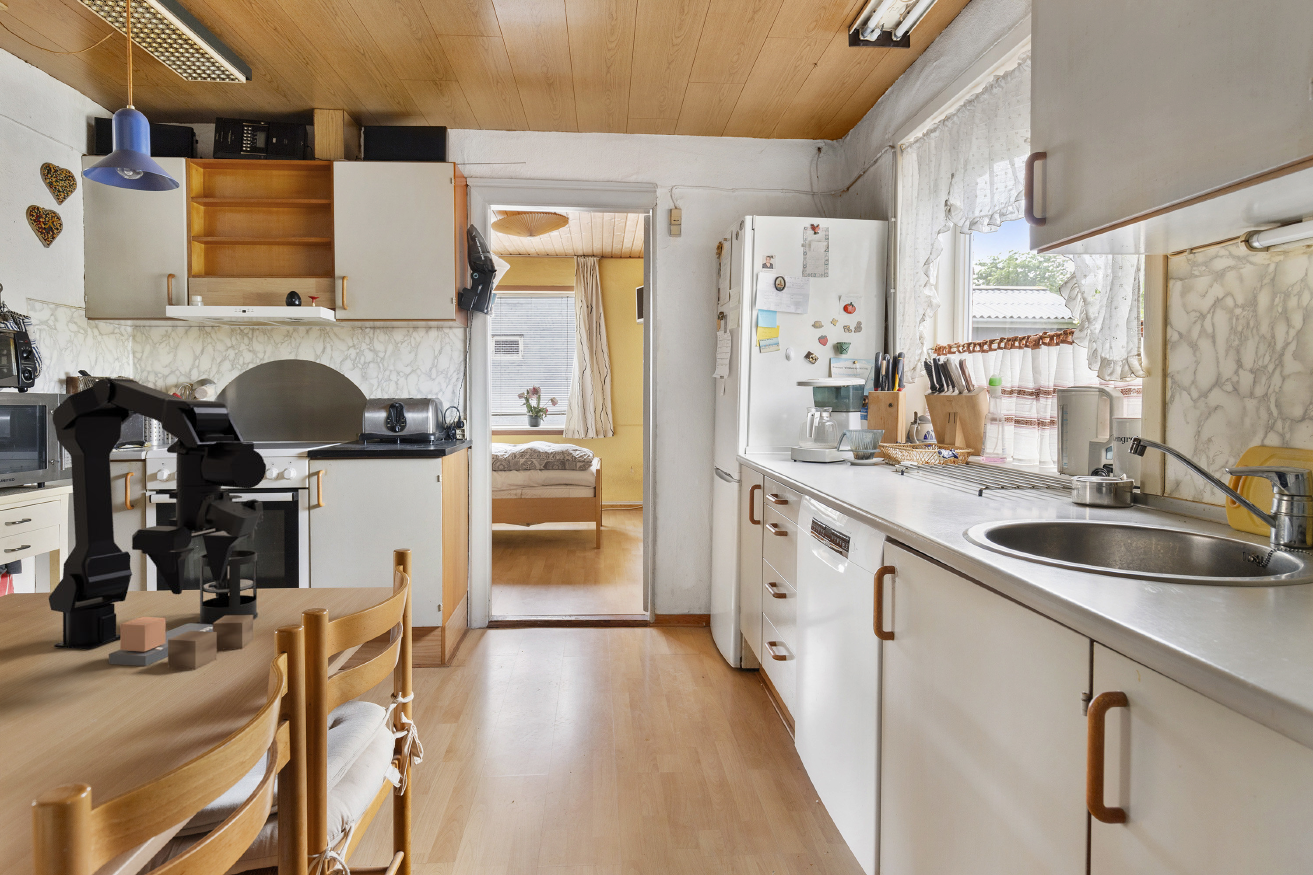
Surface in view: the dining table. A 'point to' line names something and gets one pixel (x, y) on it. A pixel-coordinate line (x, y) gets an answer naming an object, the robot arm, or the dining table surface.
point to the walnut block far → (234, 631)
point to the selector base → (157, 652)
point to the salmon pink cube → (143, 633)
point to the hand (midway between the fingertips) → (198, 586)
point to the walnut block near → (192, 650)
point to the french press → (229, 587)
